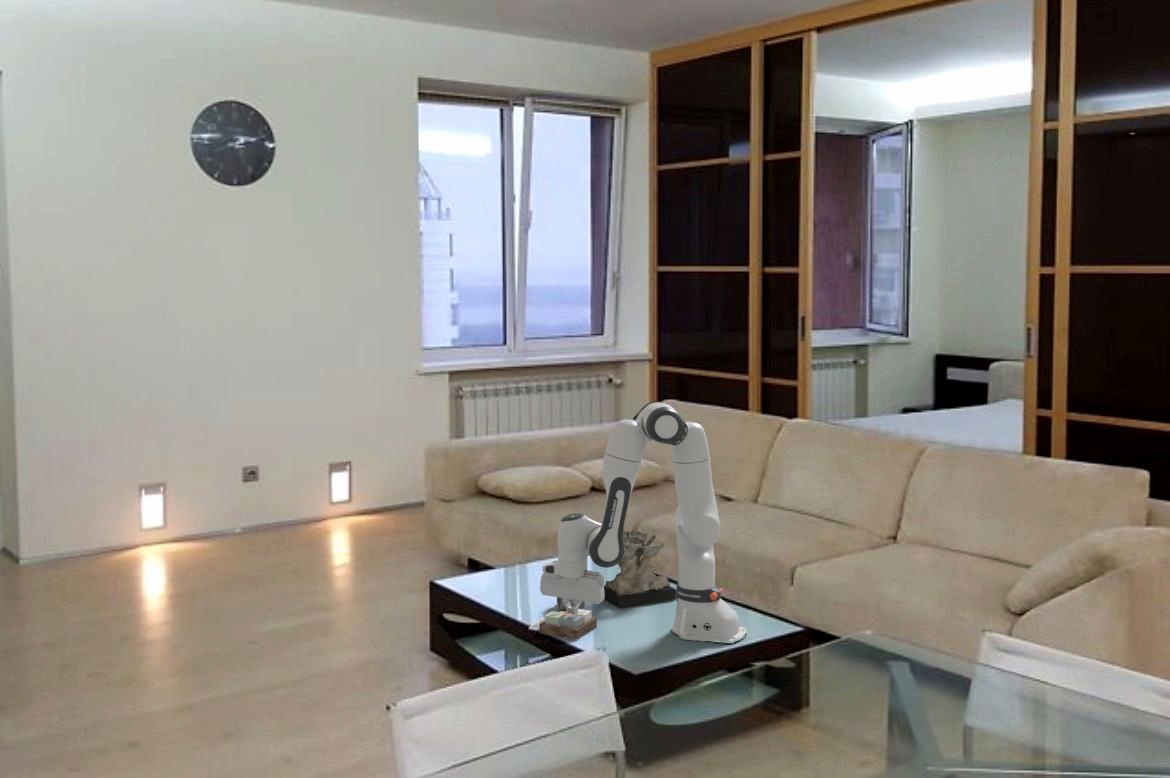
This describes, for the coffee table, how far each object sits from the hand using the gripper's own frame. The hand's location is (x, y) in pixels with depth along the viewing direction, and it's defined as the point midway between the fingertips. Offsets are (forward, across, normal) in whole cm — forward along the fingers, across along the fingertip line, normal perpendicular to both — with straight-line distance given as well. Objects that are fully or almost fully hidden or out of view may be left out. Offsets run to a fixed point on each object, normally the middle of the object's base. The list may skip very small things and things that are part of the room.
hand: (571, 613), depth 345 cm
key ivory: (+5, 0, -6) cm, 8 cm away
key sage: (+5, +6, 0) cm, 8 cm away
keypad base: (+7, +3, -3) cm, 8 cm away
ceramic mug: (+7, +13, -22) cm, 27 cm away
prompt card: (+7, +12, -3) cm, 14 cm away
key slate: (+5, 0, 0) cm, 5 cm away
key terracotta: (+6, +6, -6) cm, 11 cm away
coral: (+7, +1, -42) cm, 43 cm away
